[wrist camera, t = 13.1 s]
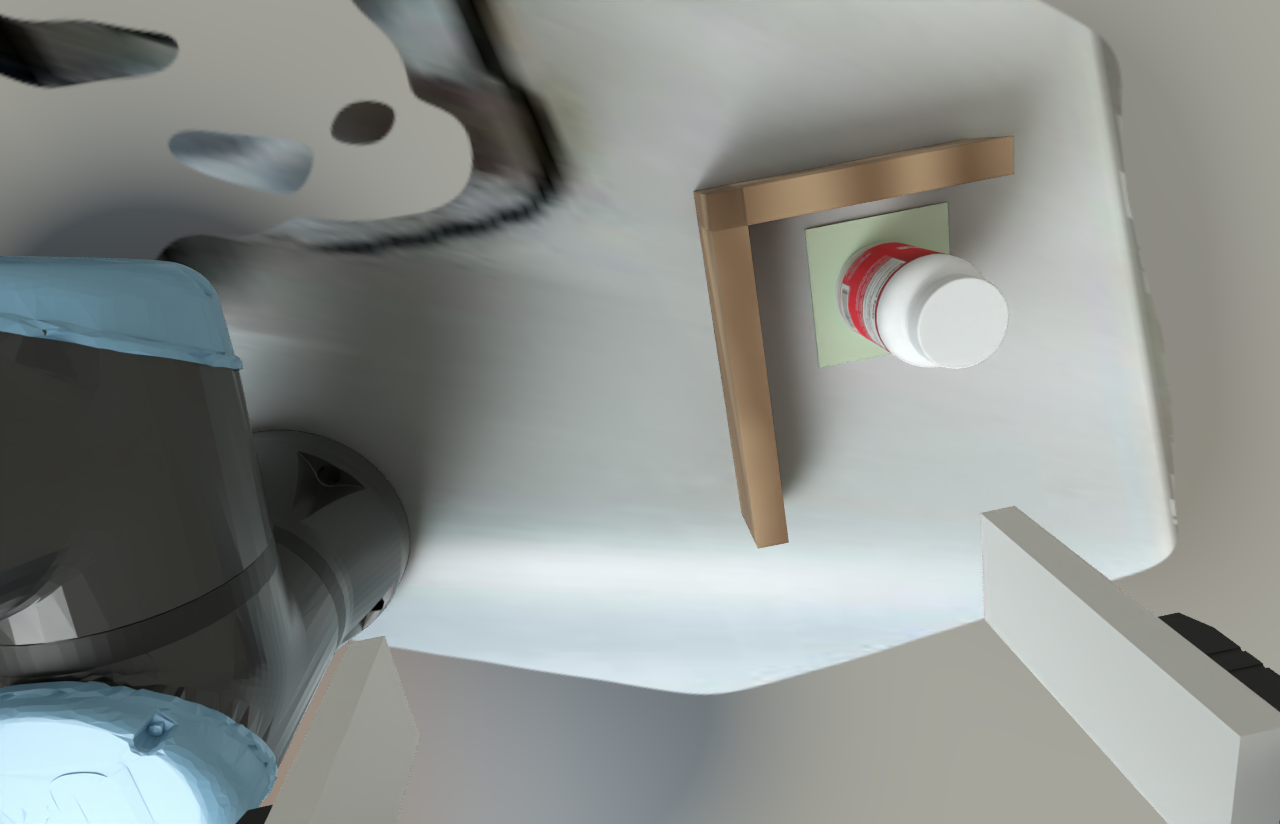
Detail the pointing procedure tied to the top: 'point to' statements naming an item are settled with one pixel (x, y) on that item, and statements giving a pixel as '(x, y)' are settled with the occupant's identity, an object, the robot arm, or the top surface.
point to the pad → (838, 246)
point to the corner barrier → (736, 294)
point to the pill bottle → (921, 305)
